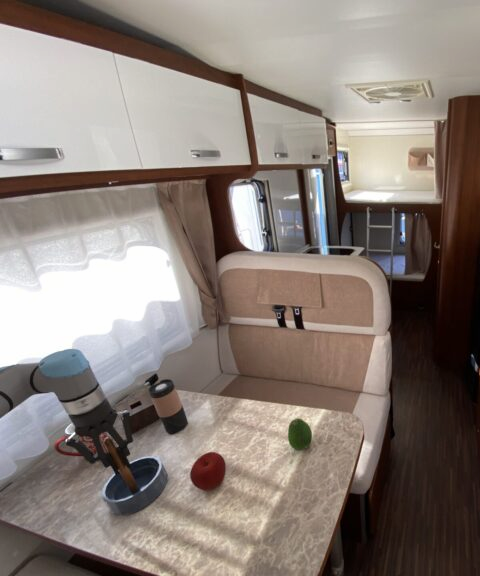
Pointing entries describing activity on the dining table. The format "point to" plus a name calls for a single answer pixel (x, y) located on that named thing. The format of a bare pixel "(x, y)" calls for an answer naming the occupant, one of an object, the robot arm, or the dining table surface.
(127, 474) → the stick
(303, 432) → the fruit
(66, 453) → the mug
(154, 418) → the holder
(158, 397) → the travel mug
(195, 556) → the dining table surface
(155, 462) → the bowl
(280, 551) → the dining table surface
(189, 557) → the dining table surface
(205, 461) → the apple
